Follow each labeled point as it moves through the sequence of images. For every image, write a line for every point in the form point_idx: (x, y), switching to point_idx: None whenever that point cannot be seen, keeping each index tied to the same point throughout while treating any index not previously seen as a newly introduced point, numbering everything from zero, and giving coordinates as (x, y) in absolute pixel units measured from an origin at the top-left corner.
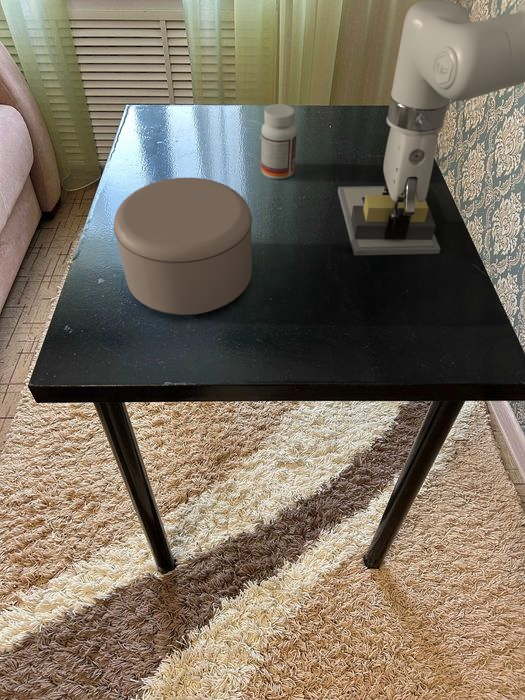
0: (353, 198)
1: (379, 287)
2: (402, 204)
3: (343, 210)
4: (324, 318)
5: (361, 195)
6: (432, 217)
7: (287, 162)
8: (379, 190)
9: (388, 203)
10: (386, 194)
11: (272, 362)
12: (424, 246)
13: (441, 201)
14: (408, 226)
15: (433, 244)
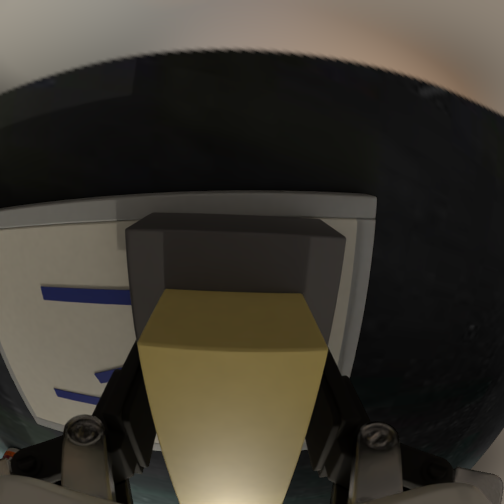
0: (70, 414)
1: (441, 381)
2: (261, 460)
3: None
4: (454, 438)
5: (49, 393)
6: (253, 233)
7: None
8: (8, 337)
9: (250, 493)
10: (139, 464)
11: (473, 456)
12: (356, 261)
13: (19, 109)
14: (344, 382)
15: (347, 218)
